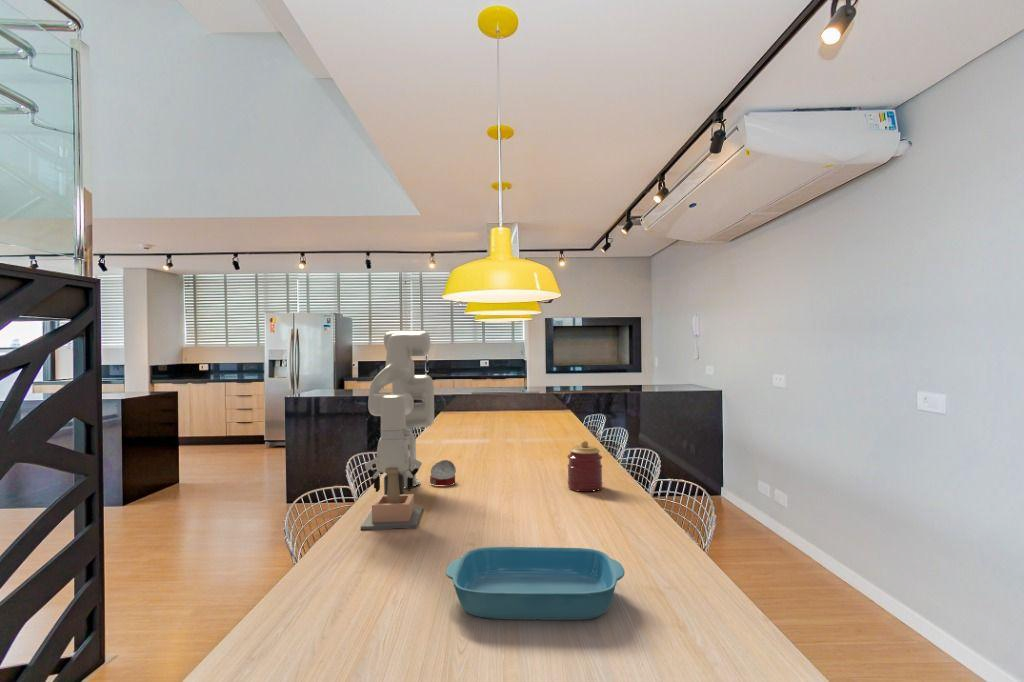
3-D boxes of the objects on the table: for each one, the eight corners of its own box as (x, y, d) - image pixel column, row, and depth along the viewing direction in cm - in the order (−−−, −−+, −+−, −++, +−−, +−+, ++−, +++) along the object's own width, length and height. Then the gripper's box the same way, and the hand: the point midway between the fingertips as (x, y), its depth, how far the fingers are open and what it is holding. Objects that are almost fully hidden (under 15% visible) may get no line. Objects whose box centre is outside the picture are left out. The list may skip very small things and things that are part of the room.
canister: (564, 491, 189) (564, 443, 189) (571, 482, 201) (570, 437, 201) (600, 494, 185) (599, 444, 185) (604, 484, 197) (604, 438, 198)
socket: (373, 510, 168) (373, 492, 168) (423, 509, 169) (422, 491, 169) (360, 530, 150) (360, 509, 150) (416, 528, 151) (416, 507, 151)
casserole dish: (436, 626, 97) (435, 588, 97) (456, 575, 120) (456, 544, 120) (633, 631, 95) (632, 592, 95) (616, 578, 117) (616, 546, 117)
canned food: (455, 493, 204) (465, 472, 202) (438, 497, 195) (449, 474, 194) (437, 477, 210) (447, 456, 208) (420, 479, 202) (430, 457, 200)
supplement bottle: (406, 498, 181) (406, 464, 181) (400, 504, 174) (400, 469, 174) (387, 498, 182) (387, 464, 182) (381, 504, 175) (381, 468, 175)
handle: (403, 511, 163) (402, 464, 163) (400, 518, 156) (399, 469, 156) (387, 512, 162) (386, 464, 162) (384, 519, 156) (383, 470, 156)
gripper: (422, 432, 164) (423, 486, 164) (367, 433, 163) (367, 487, 162) (419, 436, 156) (420, 493, 156) (362, 437, 155) (362, 494, 155)
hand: (393, 490), depth 159 cm, fingers open, 9 cm apart
